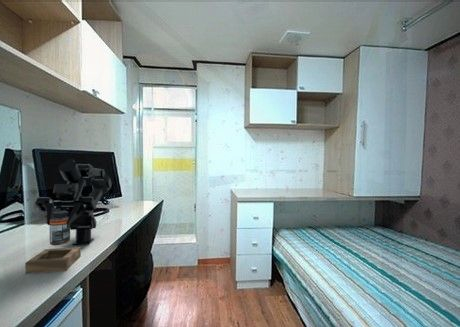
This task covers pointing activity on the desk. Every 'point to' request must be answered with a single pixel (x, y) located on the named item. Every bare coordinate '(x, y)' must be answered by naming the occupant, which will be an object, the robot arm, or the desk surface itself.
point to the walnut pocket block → (53, 260)
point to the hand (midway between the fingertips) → (58, 224)
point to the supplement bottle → (59, 228)
